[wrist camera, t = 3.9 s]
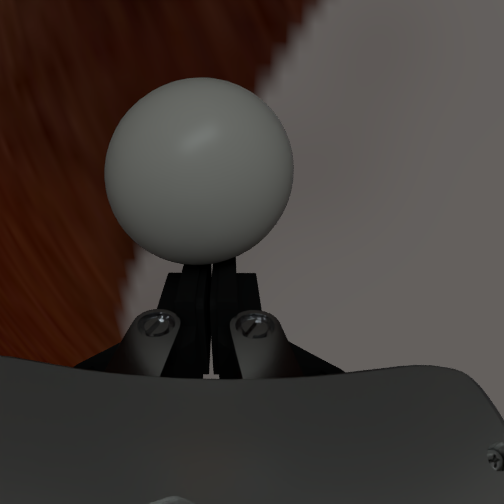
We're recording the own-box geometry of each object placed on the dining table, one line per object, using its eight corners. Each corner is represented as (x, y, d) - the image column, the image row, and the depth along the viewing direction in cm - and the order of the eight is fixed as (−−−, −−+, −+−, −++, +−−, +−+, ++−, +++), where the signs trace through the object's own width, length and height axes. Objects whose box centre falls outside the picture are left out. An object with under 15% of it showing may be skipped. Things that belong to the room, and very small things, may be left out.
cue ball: (203, 249, 13) (190, 338, 8) (109, 157, 11) (33, 198, 6) (306, 162, 11) (362, 205, 7) (211, 57, 9) (195, 13, 4)
